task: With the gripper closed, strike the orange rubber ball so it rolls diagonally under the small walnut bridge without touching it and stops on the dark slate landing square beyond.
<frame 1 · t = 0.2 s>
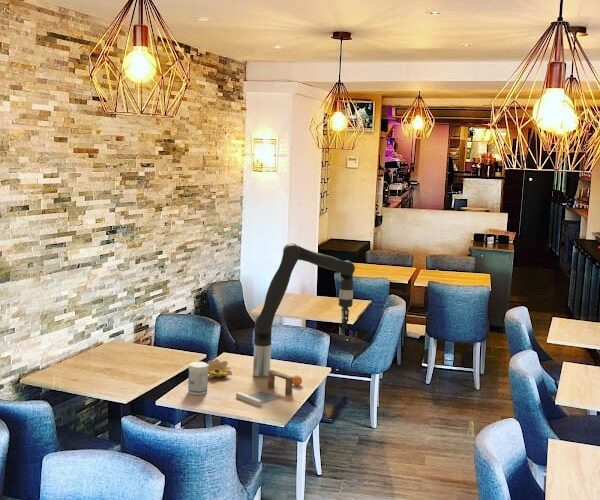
hand: (344, 326, 378), 28 cm above the table, tool pointing down, fingers open, 8 cm apart
bridge: (279, 391, 355), on the table
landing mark: (261, 397, 345), on the table
supplement tub: (197, 392, 348), on the table
decorative flower: (216, 377, 373), on the table
ball: (296, 380, 364), on the table
stopper strip: (248, 401, 339), on the table
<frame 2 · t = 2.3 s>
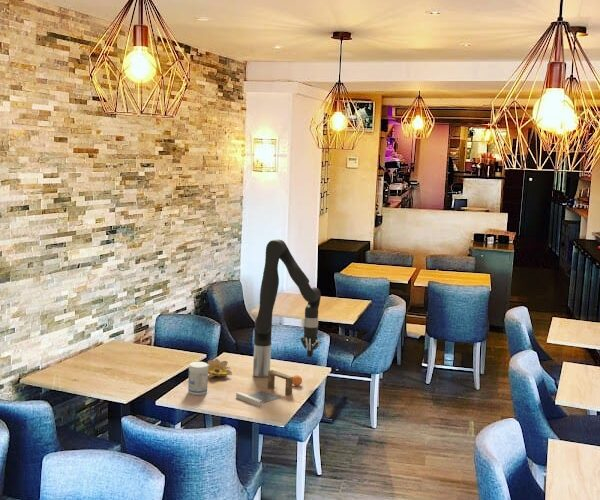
hand: (309, 356, 370), 14 cm above the table, tool pointing down, fingers closed
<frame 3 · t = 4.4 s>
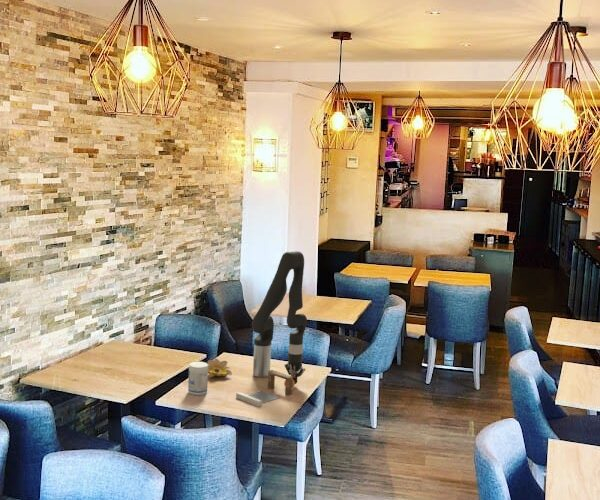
hand: (294, 383, 363), 2 cm above the table, tool pointing down, fingers closed
ball: (289, 383, 360), on the table
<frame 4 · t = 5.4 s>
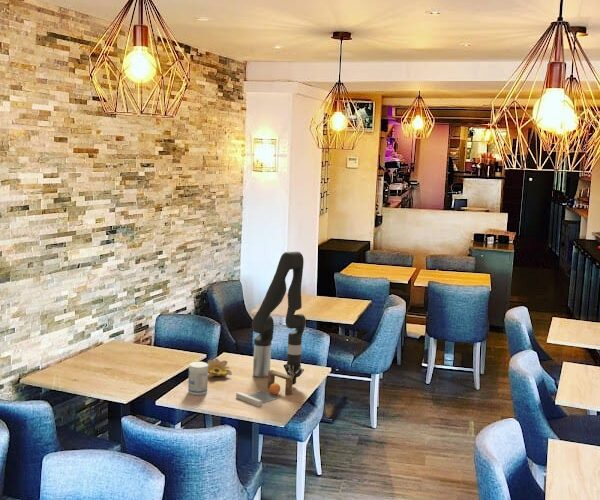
hand: (293, 384, 362), 2 cm above the table, tool pointing down, fingers closed
ball: (274, 388, 351), on the table
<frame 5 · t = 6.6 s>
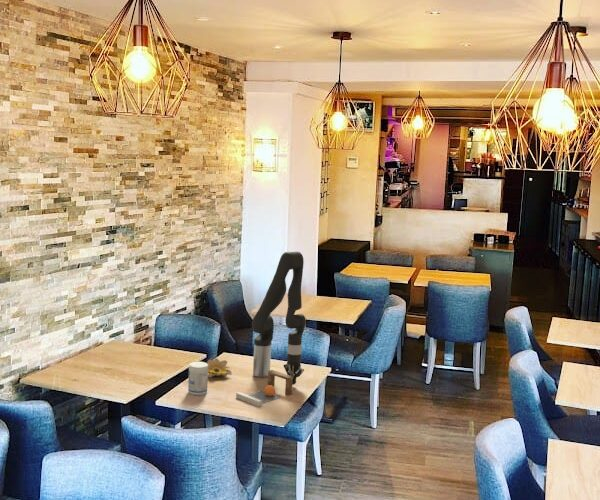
hand: (293, 384, 362), 2 cm above the table, tool pointing down, fingers closed
ball: (269, 390, 347), on the table
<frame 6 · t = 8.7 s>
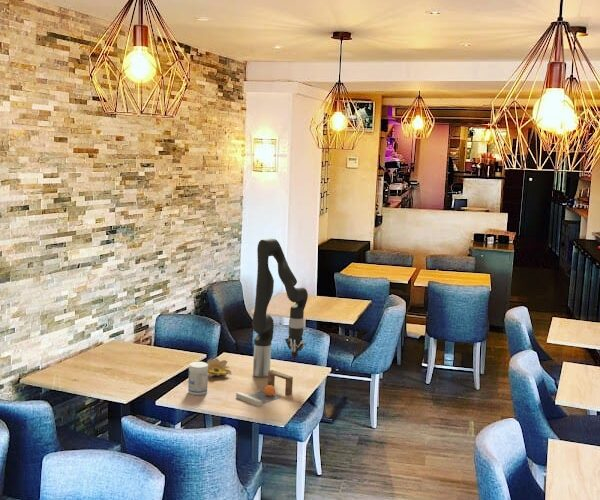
hand: (294, 358, 361), 15 cm above the table, tool pointing down, fingers closed
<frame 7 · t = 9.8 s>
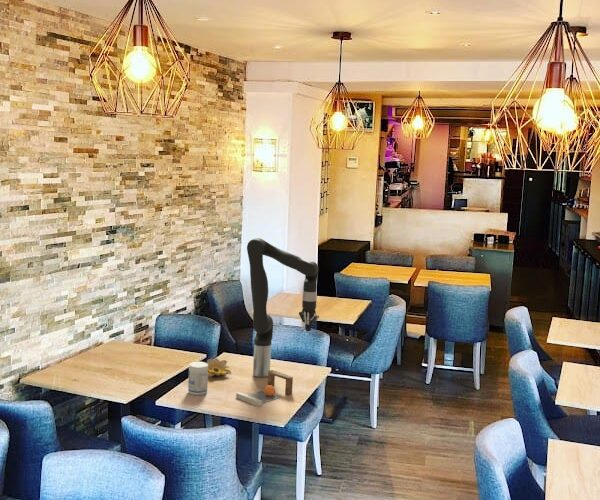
hand: (308, 330, 372), 27 cm above the table, tool pointing down, fingers closed
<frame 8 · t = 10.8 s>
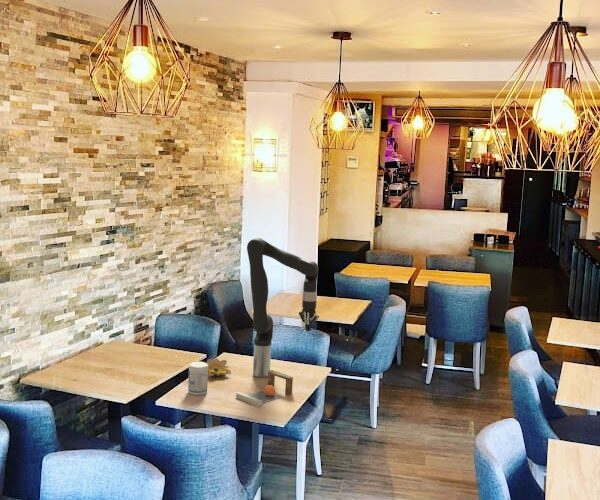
hand: (308, 330, 372), 27 cm above the table, tool pointing down, fingers closed
at the end: ball 4.5 cm from the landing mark (horizontally); ball never touched bridge; ball at rest at the end (0.0 cm/s) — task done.
